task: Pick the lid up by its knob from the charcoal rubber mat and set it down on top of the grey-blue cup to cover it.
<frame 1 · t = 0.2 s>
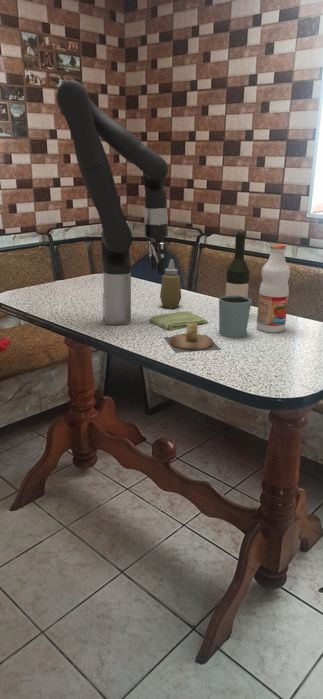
hand: (156, 271, 177), 17 cm above the table, tool pointing down, fingers open, 8 cm apart
wine bottle: (234, 316, 190), on the table
grey-blue cup: (232, 335, 169), on the table
fruit juice: (270, 329, 176), on the table
lid: (191, 343, 159), point 1 cm above the table, touching mat
washcloth: (178, 325, 180), on the table
squeeze bottle: (170, 307, 200), on the table
mat: (191, 345, 159), on the table
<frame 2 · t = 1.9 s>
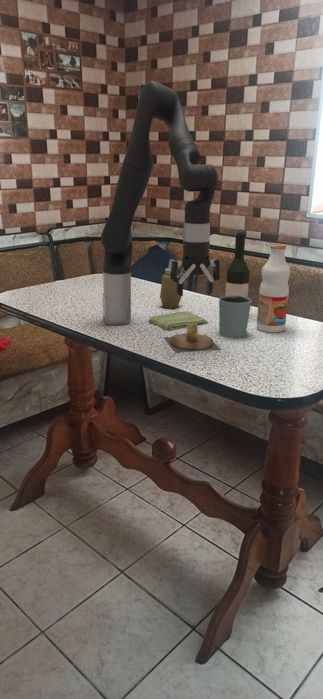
hand: (194, 295, 154), 15 cm above the table, tool pointing down, fingers open, 8 cm apart
nothing on the table moved.
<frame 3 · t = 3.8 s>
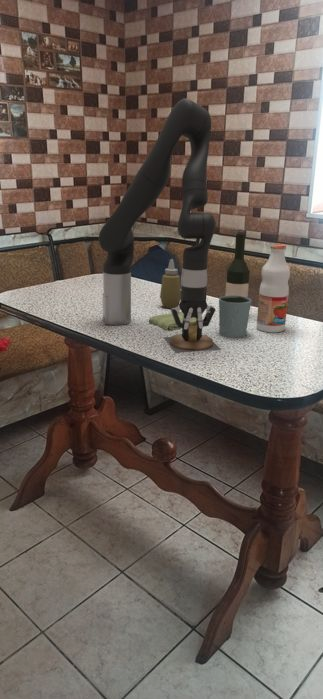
hand: (191, 339, 158), 2 cm above the table, tool pointing down, fingers closed on lid, 3 cm apart
lid: (191, 343, 159), point 1 cm above the table, touching gripper, mat
everything else where it was.
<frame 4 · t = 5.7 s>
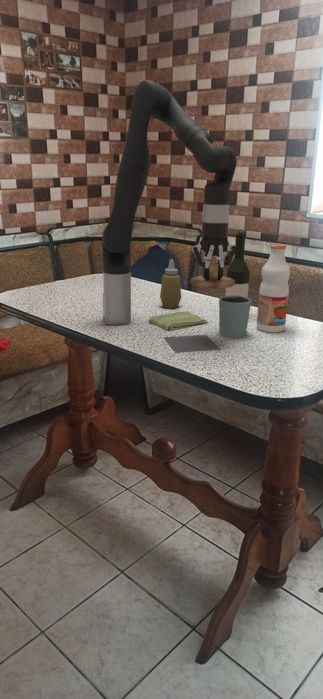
hand: (212, 279, 156), 19 cm above the table, tool pointing down, fingers closed on lid, 3 cm apart
lid: (212, 283, 157), point 18 cm above the table, touching gripper
everything else where it was.
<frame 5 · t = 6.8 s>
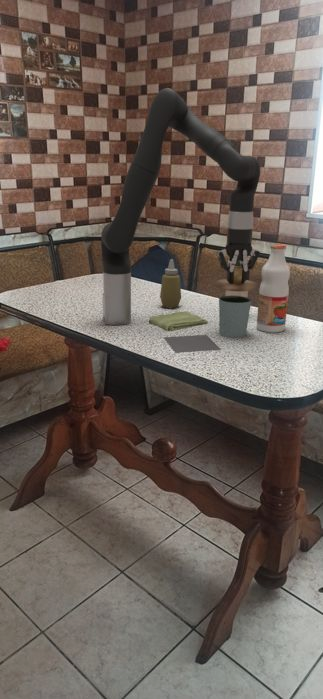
hand: (236, 282, 163), 17 cm above the table, tool pointing down, fingers closed on lid, 3 cm apart
lid: (236, 286, 164), point 16 cm above the table, touching gripper
everything else where it was.
when the fingers open (14 cm above the table, at t = 7.5 s): lid drops 1 cm, resting on grey-blue cup.
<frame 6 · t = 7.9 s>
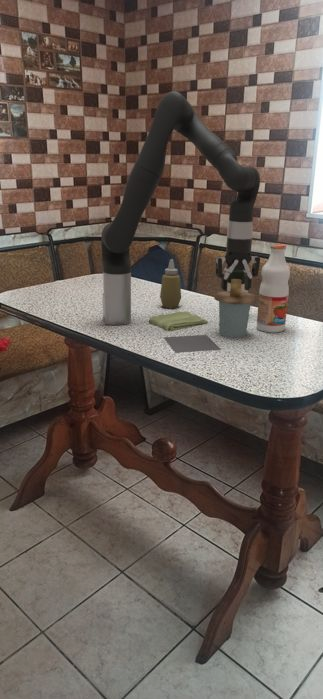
hand: (235, 290, 164), 15 cm above the table, tool pointing down, fingers open, 6 cm apart
grey-blue cup: (232, 335, 169), on the table, touching lid
lid: (234, 298, 165), point 12 cm above the table, touching grey-blue cup
everything else where it was.
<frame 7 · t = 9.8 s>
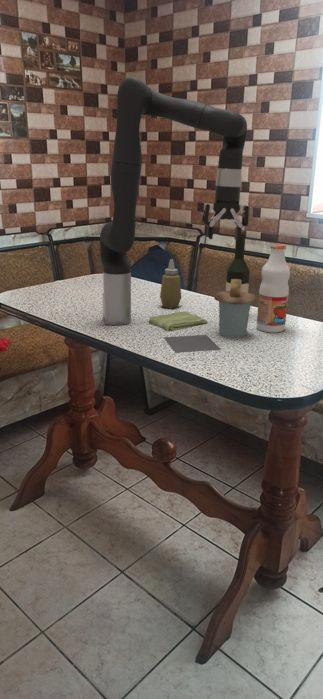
hand: (223, 239, 164), 30 cm above the table, tool pointing down, fingers open, 8 cm apart
nothing on the table moved.
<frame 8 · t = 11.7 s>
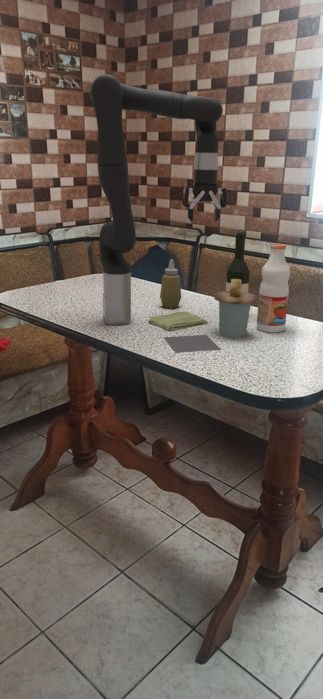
hand: (203, 220, 172), 34 cm above the table, tool pointing down, fingers open, 8 cm apart
nothing on the table moved.
at the end: lid 0.1 cm off-centre on the grey-blue cup, point 12.2 cm above the grey-blue cup's base; lid tilted 0°; the gripper is holding nothing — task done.
